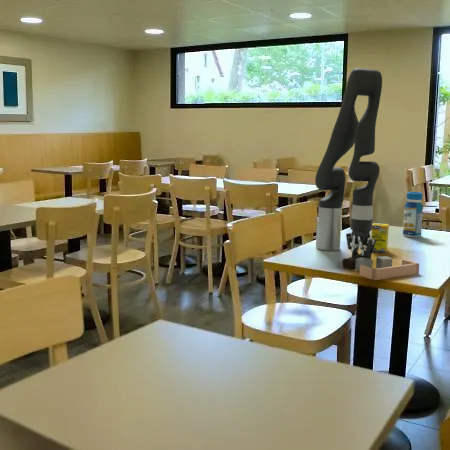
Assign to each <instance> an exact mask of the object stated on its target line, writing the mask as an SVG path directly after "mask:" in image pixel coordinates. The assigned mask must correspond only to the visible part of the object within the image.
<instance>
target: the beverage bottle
mask: <svg viewBox="0 0 450 450" xmlns="http://www.w3.org/2000/svg"><path fill="white" fill-rule="evenodd" d="M423 196H424V195H423V192H420V191H408V192H407V193H406V200H407V201H406V202H405V204H404V211H403V228H402V235H403V236H404V237H407V238H420V237H422V227H423V225H422V224H423V216H424V212H423V210H424V205H423V203H422V200H423Z"/></svg>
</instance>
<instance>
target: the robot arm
mask: <svg viewBox="0 0 450 450" xmlns="http://www.w3.org/2000/svg"><path fill="white" fill-rule="evenodd" d="M382 88H383V75H382V73H381V72H380V71H379V70H377V69H370V68H362V67H361V68H360V67H359V68H357V67H356V68H354V69H352V71H351V72H350V74H349V76H348V78H347V82H346V86H345V89H344V93H343V97H342V103H341V106H340V110H339V111H338V114H337V118H336V120H335V124H334V126H333V129H332V133H331V136H330V139H329V142H328V144H327V147H326V151H325V153H324V155H323V156H322V159H321V161H320V164H319V166H318V168H317V170H316V174H315V178H314V179H315V180H314V182H315V187H316V188H317V189H318V190H320V191H330V192H329V194H327V195H326V196H324V197H322V198H320V199H319V201H318V213H317V214H318V218H317V219H318V220H317V224H316V236H315V237H316V239H315V247H316V248H317V249H318V250H322V251H327V252H330V251H332V252H333V251H334V252H335V251H340V250H341V236H342V215H343V213H342V212H343V211H342V210H343V209H342V208H343V203H344V197H345V187H346V174H345V170H344V168H342V167H340V166H336V165H337V163H338V161H340V159H341V158H342V157H343V156H345V155H346V154H347V153H348V152H349V151H350V150H351V148H353V146H354V148H353V156H352V159H351V163H350V166H349V169H348V177H349V178H350V180H352V181H353V182H367V183H366V185H364V186H362V187H356V188H354V189H353V191H352V205H351V211H350V214H351V215H350V230H351V232H348V233H346V234H345V236H346V243H347V250H350V252H351V257H353V256H355V255H358V254H359V250H360V251H361V252H362V255H361V258H362V257H364V258H368V255H369V254H371V255H373V253H374V252H373V250H374V247H375V243H376V239H372V238H371V232H372V225H373V217H374V215H373V214H374V209H373V207H374V206H373V205H374V204H373V203H374V191H375V188H376V184H377V181H378V179H379V175H380V170H381V169H380V166H379V163H378V162H376V161H365V160H364V161H361V158H362V157H364V156H369V155H370V156H371V155H373V154H374V153H375V149H376V148H375V147H376V127H377V126H376V125H377V118H378V113H379V108H380V102H381V95H382ZM358 96H363V97H367V99H368V100H367V107H366V108H365V112H363V115H362V116H361V118H360V120H359V119H358V116H357V112H356V107H355V105H356V101H357V98H358ZM364 250H365V251H364ZM369 250H370V251H369ZM361 252H360V253H361Z"/></svg>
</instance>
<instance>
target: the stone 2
mask: <svg viewBox="0 0 450 450" xmlns="http://www.w3.org/2000/svg"><path fill="white" fill-rule="evenodd" d="M392 266H393V258H392V257H390V256H387V255H386V256H385V255H383V256H376V262H375V268H376V267H377V268H384V267H392ZM377 268H376V269H377Z"/></svg>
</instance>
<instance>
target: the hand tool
mask: <svg viewBox="0 0 450 450" xmlns="http://www.w3.org/2000/svg"><path fill="white" fill-rule="evenodd" d="M364 251H365V249H364ZM369 251H370V250H369ZM361 255H362V252H360V253H358V255H355V256H353V257H352V256H351V257H347V258H343V259H342V261H341V267H342V268H343V269H345V270H351V269H353V268H354V267H355V263H356V259H357V258H361ZM368 259H372V254H369V255H368Z"/></svg>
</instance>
